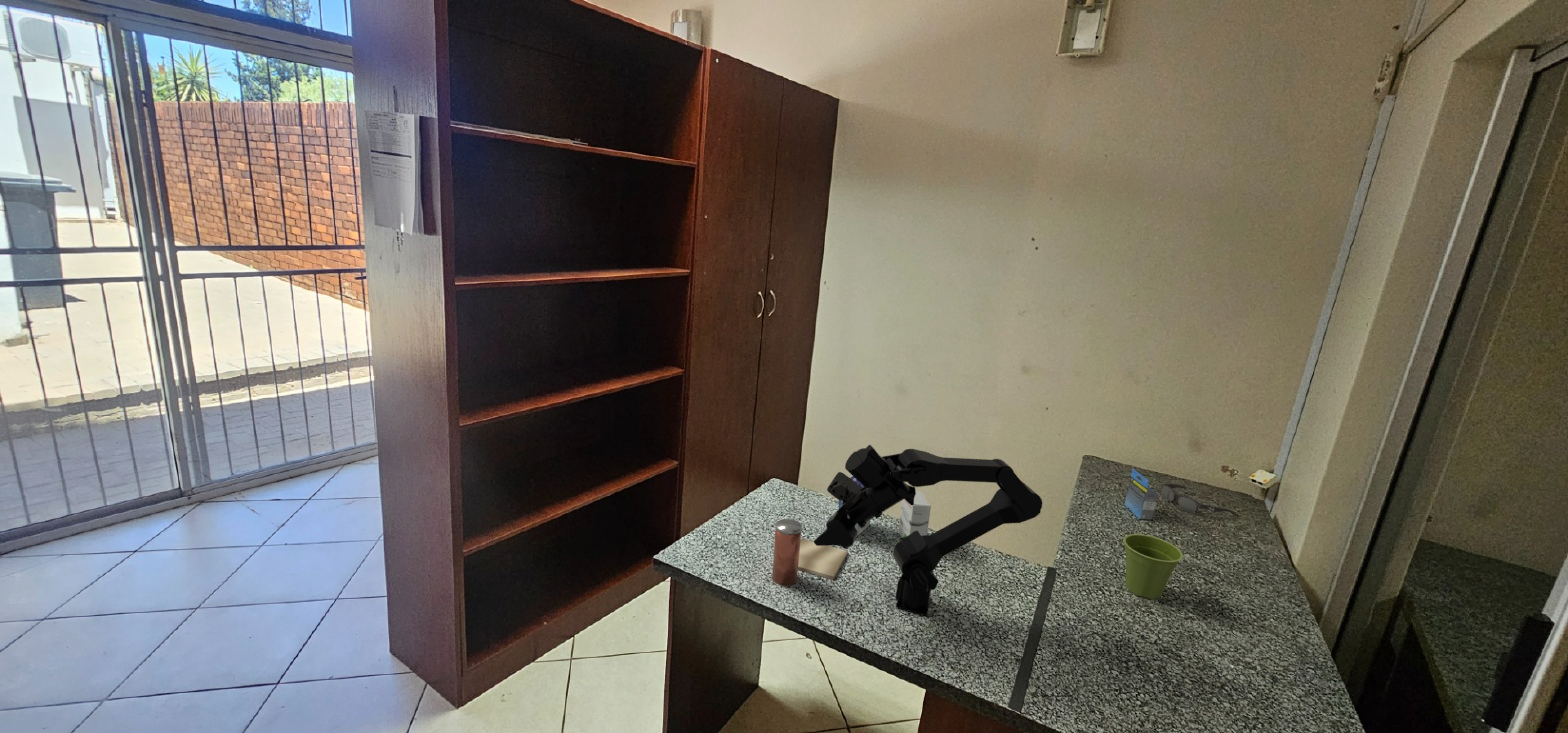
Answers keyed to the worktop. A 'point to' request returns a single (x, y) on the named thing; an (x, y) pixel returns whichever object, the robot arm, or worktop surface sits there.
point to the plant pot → (1149, 564)
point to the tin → (786, 552)
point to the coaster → (820, 559)
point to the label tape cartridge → (1140, 497)
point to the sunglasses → (1186, 499)
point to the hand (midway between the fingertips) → (821, 533)
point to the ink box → (914, 516)
